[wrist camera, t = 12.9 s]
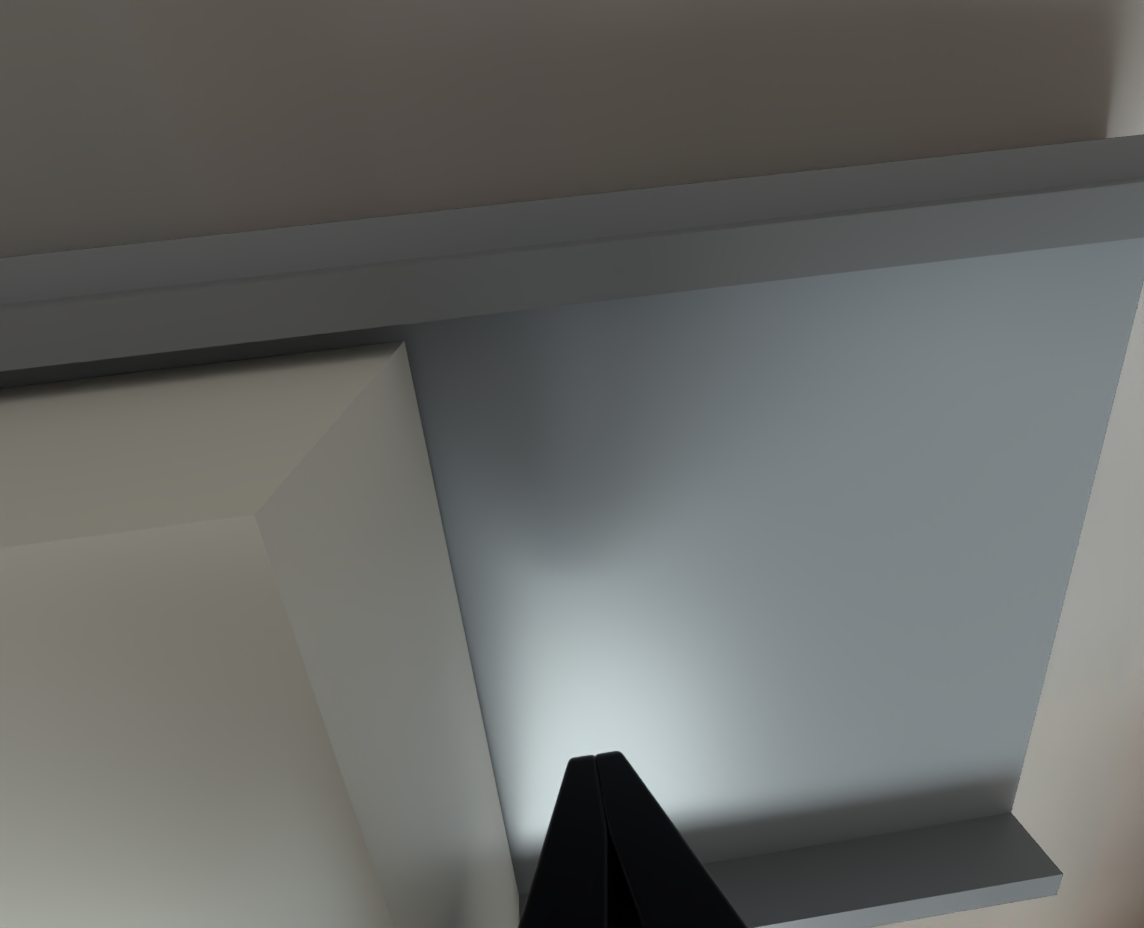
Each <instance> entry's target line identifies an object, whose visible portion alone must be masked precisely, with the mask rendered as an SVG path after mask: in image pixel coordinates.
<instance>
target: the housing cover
mask: <svg viewBox="0 0 1144 928" xmlns="http://www.w3.org/2000/svg"><path fill="white" fill-rule="evenodd" d="M518 925H519V894H518V889H517V884H516V880H515V875H514V870H513V865H512V860H511V855H510V851H509V846H508V841H507V836H506V831H505V826H504V821H503V817H502V812H501V807H500V802H499V797H498V792H497V788H496V783H495V778H494V773H493V768H492V763H491V758H490V754H489V749H488V744H487V739H486V734H485V729H484V725H483V720H482V715H481V710H480V705H479V700H478V695H477V691H476V686H475V681H474V676H473V671H472V666H471V661H470V657H469V652H468V647H467V642H466V637H465V632H464V628H463V623H462V618H461V613H460V608H459V603H458V598H457V594H456V589H455V584H454V579H453V574H452V569H451V565H450V560H449V555H448V550H447V545H446V540H445V535H444V531H443V526H442V521H441V516H440V511H439V506H438V502H437V497H436V492H435V487H434V482H433V477H432V472H431V468H430V463H429V458H428V453H427V448H426V443H425V439H424V434H423V429H422V424H421V419H420V414H419V409H418V405H417V400H416V395H415V390H414V385H413V380H412V376H411V371H410V366H409V361H408V356H407V351H406V346H405V342H404V341H399V342H390V343H382V344H373V345H365V346H356V347H348V348H340V349H331V350H323V351H314V352H306V353H297V354H289V355H281V356H272V357H264V358H255V359H247V360H238V361H230V362H222V363H213V364H205V365H196V366H188V367H179V368H171V369H163V370H154V371H146V372H137V373H129V374H120V375H112V376H104V377H95V378H87V379H78V380H70V381H61V382H53V383H45V384H36V385H28V386H19V387H11V388H2V389H0V928H518Z"/></svg>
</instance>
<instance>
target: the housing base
mask: <svg viewBox="0 0 1144 928" xmlns="http://www.w3.org/2000/svg"><path fill="white" fill-rule="evenodd" d="M1143 281H1144V135H1135V136H1125V137H1116V138H1107V139H1097V140H1088V141H1079V142H1070V143H1060V144H1051V145H1042V146H1033V147H1023V148H1014V149H1005V150H996V151H986V152H977V153H968V154H959V155H949V156H940V157H931V158H921V159H912V160H903V161H894V162H884V163H875V164H866V165H857V166H847V167H838V168H829V169H820V170H810V171H801V172H792V173H782V174H773V175H764V176H755V177H745V178H736V179H727V180H718V181H708V182H699V183H690V184H681V185H671V186H662V187H653V188H644V189H634V190H625V191H616V192H606V193H597V194H588V195H579V196H569V197H560V198H551V199H542V200H532V201H523V202H514V203H505V204H495V205H486V206H477V207H468V208H458V209H449V210H440V211H430V212H421V213H412V214H403V215H393V216H384V217H375V218H366V219H356V220H347V221H338V222H329V223H319V224H310V225H301V226H291V227H282V228H273V229H264V230H254V231H245V232H236V233H227V234H217V235H208V236H199V237H190V238H180V239H171V240H162V241H153V242H143V243H134V244H125V245H115V246H106V247H97V248H88V249H78V250H69V251H60V252H51V253H41V254H32V255H23V256H14V257H4V258H0V389H2V388H11V387H19V386H28V385H36V384H45V383H53V382H61V381H70V380H78V379H87V378H95V377H104V376H112V375H120V374H129V373H137V372H146V371H154V370H163V369H171V368H179V367H188V366H196V365H205V364H213V363H222V362H230V361H238V360H247V359H255V358H264V357H272V356H281V355H289V354H297V353H306V352H314V351H323V350H331V349H340V348H348V347H356V346H365V345H373V344H382V343H390V342H399V341H404V342H405V346H406V351H407V356H408V361H409V366H410V371H411V376H412V380H413V385H414V390H415V395H416V400H417V405H418V409H419V414H420V419H421V424H422V429H423V434H424V439H425V443H426V448H427V453H428V458H429V463H430V468H431V472H432V477H433V482H434V487H435V492H436V497H437V502H438V506H439V511H440V516H441V521H442V526H443V531H444V535H445V540H446V545H447V550H448V555H449V560H450V565H451V569H452V574H453V579H454V584H455V589H456V594H457V598H458V603H459V608H460V613H461V618H462V623H463V628H464V632H465V637H466V642H467V647H468V652H469V657H470V661H471V666H472V671H473V676H474V681H475V686H476V691H477V695H478V700H479V705H480V710H481V715H482V720H483V725H484V729H485V734H486V739H487V744H488V749H489V754H490V758H491V763H492V768H493V773H494V778H495V783H496V788H497V792H498V797H499V802H500V807H501V812H502V817H503V821H504V826H505V831H506V836H507V841H508V846H509V851H510V855H511V860H512V865H513V870H514V875H515V880H516V884H517V889H518V894H519V922H520V919H521V915H522V912H523V909H524V905H525V902H526V899H527V896H528V892H529V889H530V886H531V882H532V879H533V876H534V872H535V869H536V866H537V863H538V859H539V856H540V853H541V849H542V846H543V843H544V839H545V836H546V833H547V829H548V826H549V823H550V820H551V816H552V813H553V810H554V806H555V803H556V800H557V796H558V793H559V790H560V787H561V783H562V780H563V777H564V773H565V770H566V767H567V764H568V761H569V760H570V759H571V758H573V757H580V756H586V755H594V756H596V755H597V754H599V753H606V752H612V751H620V752H621V753H622V754H623V755H624V756H625V757H626V759H627V760H628V761H629V763H630V764H631V766H632V767H633V768H634V770H635V771H636V772H637V774H638V775H639V777H640V778H641V779H642V781H643V782H644V784H645V785H646V786H647V788H648V789H649V790H650V792H651V793H652V795H653V796H654V797H655V799H656V800H657V802H658V803H659V804H660V806H661V807H662V808H663V810H664V811H665V813H666V814H667V815H668V817H669V818H670V820H671V821H672V822H673V824H674V825H675V826H676V828H677V829H678V831H679V832H680V833H681V835H682V836H683V838H684V839H685V840H686V842H687V843H688V844H689V846H690V847H691V849H692V850H693V851H694V853H695V854H696V856H697V857H698V858H699V860H700V861H701V862H702V864H703V865H704V867H705V868H706V869H707V871H708V872H709V874H710V875H711V876H712V878H713V879H714V880H715V882H716V883H717V885H718V886H719V887H720V889H721V890H722V892H723V893H724V894H725V896H726V897H727V898H728V900H729V901H730V903H731V904H732V905H733V907H734V908H735V910H736V911H737V912H738V914H739V915H740V917H741V918H742V919H743V921H744V922H745V923H746V925H747V926H748V928H870V927H875V926H881V925H887V924H892V923H898V922H904V921H910V920H915V919H921V918H927V917H932V916H938V915H944V914H950V913H955V912H961V911H967V910H972V909H978V908H984V907H990V906H995V905H1001V904H1007V903H1012V902H1018V901H1024V900H1030V899H1035V898H1041V897H1047V896H1052V895H1057V892H1058V889H1059V886H1060V883H1061V879H1062V876H1063V873H1062V872H1061V871H1060V870H1059V869H1058V867H1057V866H1056V865H1055V864H1054V863H1053V862H1052V860H1051V859H1050V858H1049V857H1048V856H1047V854H1046V853H1045V852H1044V851H1043V850H1042V849H1041V847H1040V846H1039V845H1038V844H1037V843H1036V841H1035V840H1034V839H1033V838H1032V837H1031V836H1030V834H1029V833H1028V832H1027V831H1026V830H1025V828H1024V827H1023V826H1022V825H1021V824H1020V823H1019V821H1018V820H1017V819H1016V818H1015V817H1014V816H1013V814H1012V813H1011V811H1012V807H1013V803H1014V799H1015V795H1016V791H1017V787H1018V783H1019V779H1020V775H1021V771H1022V767H1023V763H1024V759H1025V755H1026V751H1027V747H1028V743H1029V739H1030V735H1031V731H1032V727H1033V723H1034V719H1035V715H1036V711H1037V707H1038V703H1039V699H1040V695H1041V691H1042V687H1043V683H1044V679H1045V675H1046V671H1047V667H1048V663H1049V659H1050V655H1051V651H1052V647H1053V643H1054V639H1055V635H1056V631H1057V627H1058V622H1059V618H1060V614H1061V610H1062V606H1063V602H1064V598H1065V594H1066V590H1067V586H1068V582H1069V578H1070V574H1071V570H1072V566H1073V562H1074V558H1075V554H1076V550H1077V546H1078V542H1079V538H1080V534H1081V530H1082V526H1083V522H1084V518H1085V514H1086V510H1087V506H1088V502H1089V498H1090V494H1091V490H1092V486H1093V482H1094V478H1095V474H1096V470H1097V466H1098V462H1099V458H1100V454H1101V450H1102V446H1103V442H1104V438H1105V434H1106V430H1107V426H1108V422H1109V418H1110V414H1111V410H1112V406H1113V402H1114V398H1115V394H1116V390H1117V386H1118V382H1119V378H1120V374H1121V370H1122V366H1123V362H1124V358H1125V354H1126V350H1127V346H1128V341H1129V337H1130V333H1131V329H1132V325H1133V321H1134V317H1135V313H1136V309H1137V305H1138V301H1139V297H1140V293H1141V289H1142V285H1143Z"/></svg>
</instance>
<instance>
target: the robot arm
mask: <svg viewBox="0 0 1144 928" xmlns="http://www.w3.org/2000/svg"><path fill="white" fill-rule="evenodd" d="M518 928H748V926H747V925H746V923H745V922H744V921H743V919H742V918H741V917H740V915H739V914H738V912H737V911H736V910H735V908H734V907H733V905H732V904H731V903H730V901H729V900H728V898H727V897H726V896H725V894H724V893H723V892H722V890H721V889H720V887H719V886H718V885H717V883H716V882H715V880H714V879H713V878H712V876H711V875H710V874H709V872H708V871H707V869H706V868H705V867H704V865H703V864H702V862H701V861H700V860H699V858H698V857H697V856H696V854H695V853H694V851H693V850H692V849H691V847H690V846H689V844H688V843H687V842H686V840H685V839H684V838H683V836H682V835H681V833H680V832H679V831H678V829H677V828H676V826H675V825H674V824H673V822H672V821H671V820H670V818H669V817H668V815H667V814H666V813H665V811H664V810H663V808H662V807H661V806H660V804H659V803H658V802H657V800H656V799H655V797H654V796H653V795H652V793H651V792H650V790H649V789H648V788H647V786H646V785H645V784H644V782H643V781H642V779H641V778H640V777H639V775H638V774H637V772H636V771H635V770H634V768H633V767H632V766H631V764H630V763H629V761H628V760H627V759H626V757H625V756H624V755H623V754H622V753H621V752H620V751H612V752H606V753H599V754H597V755H596V756H594V755H586V756H580V757H573V758H571V759H570V760H569V761H568V764H567V767H566V770H565V773H564V777H563V780H562V783H561V787H560V790H559V793H558V796H557V800H556V803H555V806H554V810H553V813H552V816H551V820H550V823H549V826H548V829H547V833H546V836H545V839H544V843H543V846H542V849H541V853H540V856H539V859H538V863H537V866H536V869H535V872H534V876H533V879H532V882H531V886H530V889H529V892H528V896H527V899H526V902H525V905H524V909H523V912H522V915H521V919H520V922H519V925H518Z"/></svg>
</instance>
